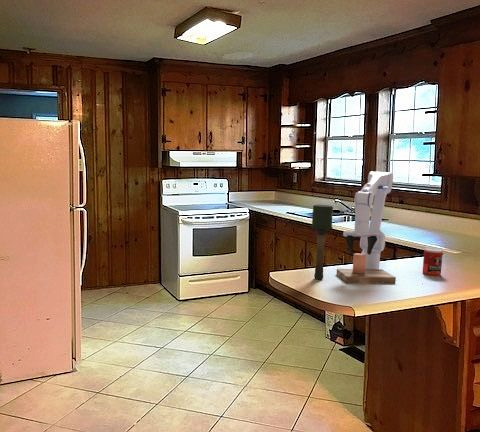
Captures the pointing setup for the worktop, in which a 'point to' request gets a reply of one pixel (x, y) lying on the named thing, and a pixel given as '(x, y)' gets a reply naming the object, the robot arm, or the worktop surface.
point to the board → (366, 276)
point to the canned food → (432, 261)
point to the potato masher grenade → (321, 233)
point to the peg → (359, 263)
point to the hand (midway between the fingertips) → (359, 254)
